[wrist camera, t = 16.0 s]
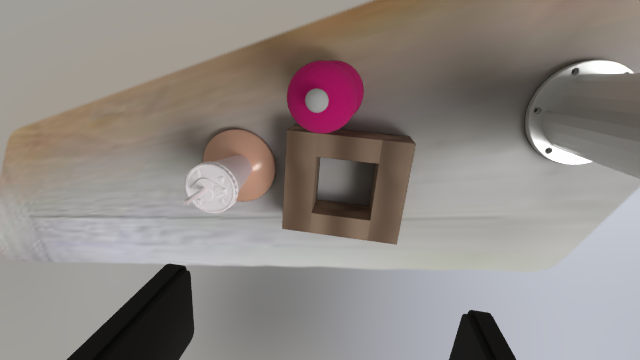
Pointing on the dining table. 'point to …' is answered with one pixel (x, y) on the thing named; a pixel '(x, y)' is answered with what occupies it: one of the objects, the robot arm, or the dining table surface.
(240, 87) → the dining table surface
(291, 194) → the bottle holder
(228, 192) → the smoothie
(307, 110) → the pepper mill
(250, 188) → the tan round disc
